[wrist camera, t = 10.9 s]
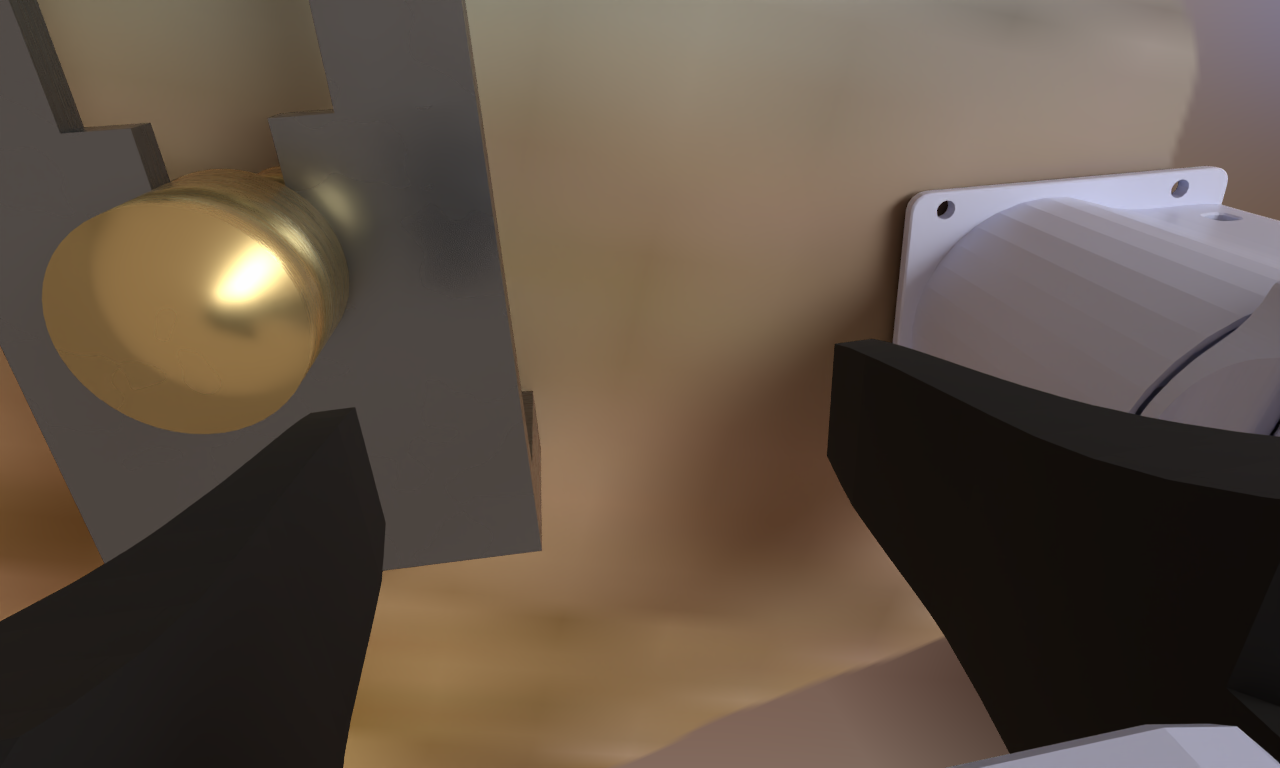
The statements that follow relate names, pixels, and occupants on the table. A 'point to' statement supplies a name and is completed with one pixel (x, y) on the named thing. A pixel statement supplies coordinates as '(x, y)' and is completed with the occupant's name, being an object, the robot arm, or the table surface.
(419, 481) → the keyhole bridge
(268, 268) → the peg
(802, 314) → the table surface
